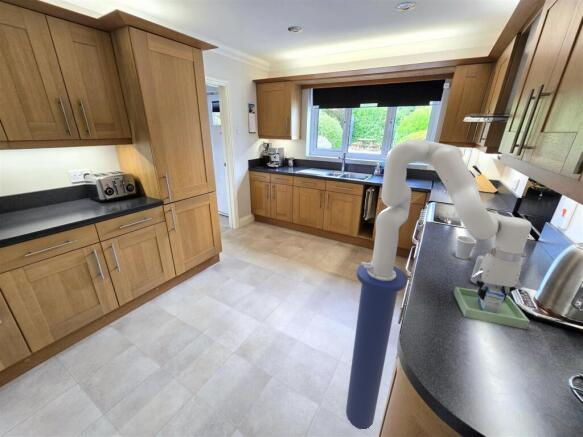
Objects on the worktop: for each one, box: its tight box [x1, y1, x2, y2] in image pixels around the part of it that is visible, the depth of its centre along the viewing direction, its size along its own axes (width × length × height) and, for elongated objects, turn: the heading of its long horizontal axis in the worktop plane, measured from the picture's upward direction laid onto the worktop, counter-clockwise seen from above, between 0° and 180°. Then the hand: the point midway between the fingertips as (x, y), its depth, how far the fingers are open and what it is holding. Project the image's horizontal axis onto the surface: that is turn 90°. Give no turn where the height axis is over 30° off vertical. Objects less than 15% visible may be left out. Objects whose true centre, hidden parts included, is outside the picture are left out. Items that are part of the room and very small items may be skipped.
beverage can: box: [470, 255, 486, 286], centre depth 102 cm, size 5×5×12 cm
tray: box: [453, 286, 530, 330], centre depth 88 cm, size 18×14×3 cm
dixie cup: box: [455, 235, 477, 260], centre depth 125 cm, size 8×8×10 cm
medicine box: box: [478, 284, 505, 314], centre depth 87 cm, size 8×4×9 cm, turn 154°
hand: (490, 298), depth 87 cm, fingers closed on medicine box, 4 cm apart
